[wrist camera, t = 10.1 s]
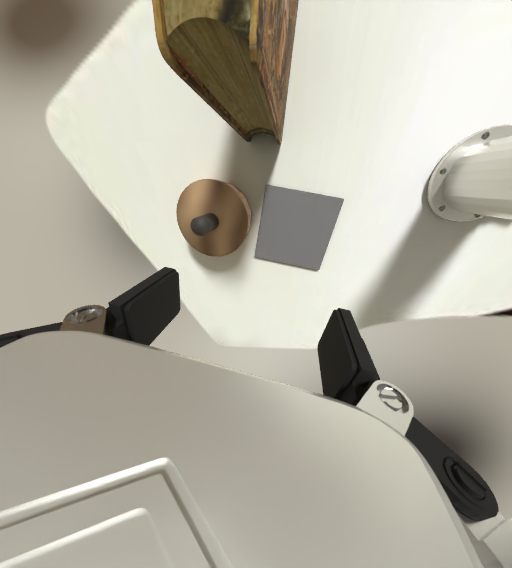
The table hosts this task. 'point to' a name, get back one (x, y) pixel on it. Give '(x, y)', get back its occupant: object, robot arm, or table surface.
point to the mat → (296, 226)
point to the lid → (212, 217)
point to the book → (232, 56)
